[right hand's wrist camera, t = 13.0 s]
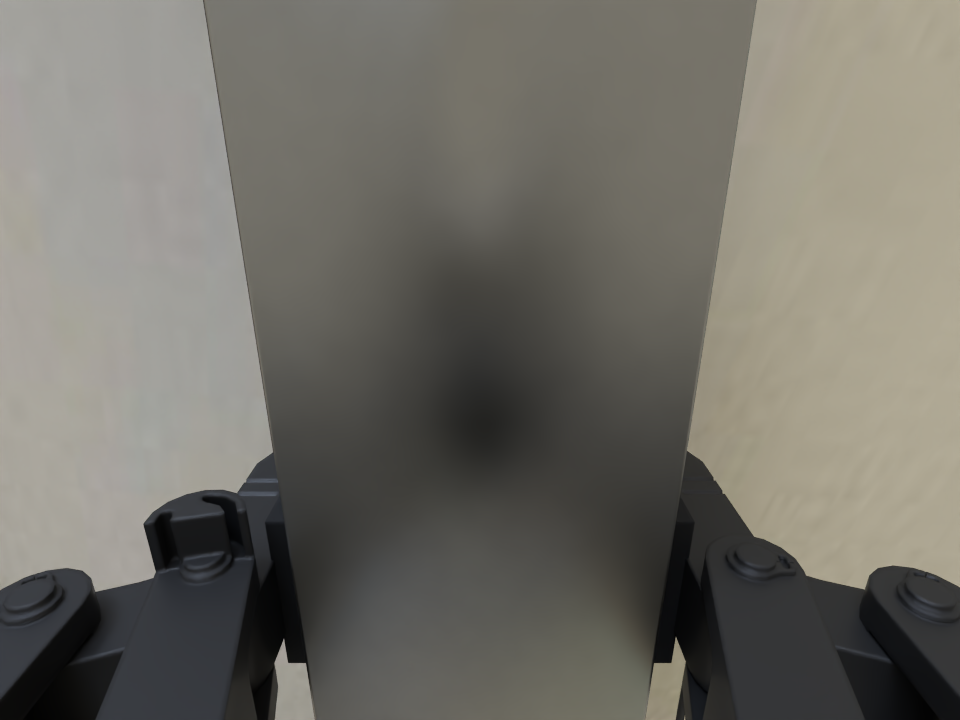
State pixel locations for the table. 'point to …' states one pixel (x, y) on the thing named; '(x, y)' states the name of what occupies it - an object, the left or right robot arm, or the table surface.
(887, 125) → the table surface
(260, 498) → the right robot arm
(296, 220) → the bar
